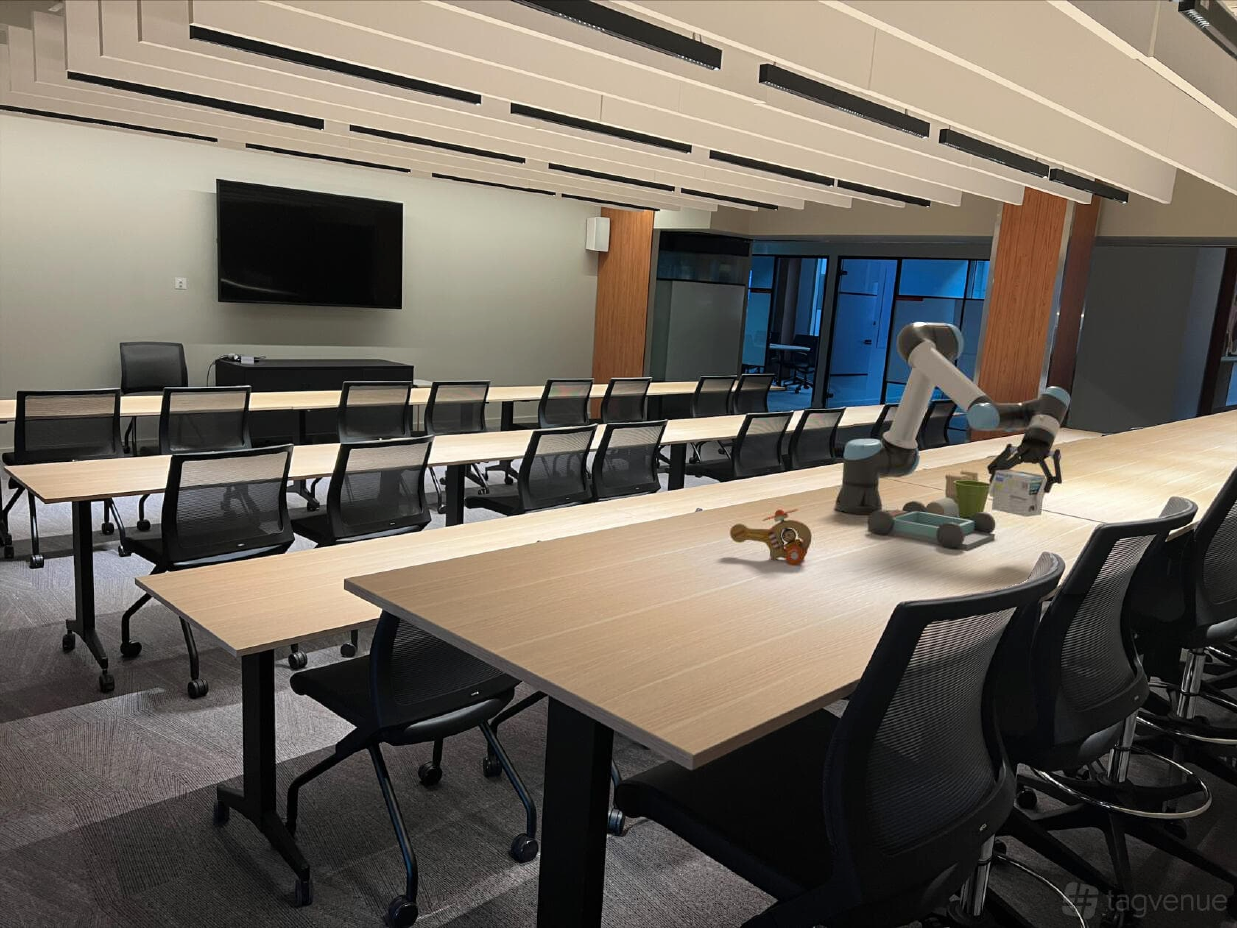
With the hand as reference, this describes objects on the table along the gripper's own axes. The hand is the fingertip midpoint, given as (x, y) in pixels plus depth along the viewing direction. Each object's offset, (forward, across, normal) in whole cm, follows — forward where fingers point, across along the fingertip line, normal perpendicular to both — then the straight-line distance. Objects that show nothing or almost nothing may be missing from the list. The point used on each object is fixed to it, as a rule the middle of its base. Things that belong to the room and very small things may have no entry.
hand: (1014, 497), depth 239 cm
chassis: (+3, -27, +21) cm, 34 cm away
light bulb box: (+1, 0, +5) cm, 5 cm away
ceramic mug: (-10, -31, +35) cm, 48 cm away
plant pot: (-23, -30, +48) cm, 60 cm away
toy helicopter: (+46, -42, -22) cm, 66 cm away
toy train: (-42, -44, +67) cm, 90 cm away
